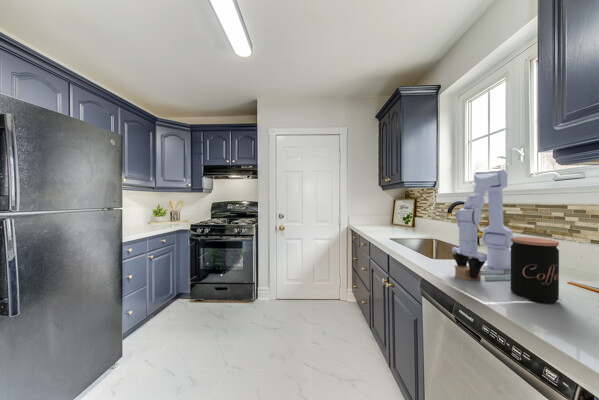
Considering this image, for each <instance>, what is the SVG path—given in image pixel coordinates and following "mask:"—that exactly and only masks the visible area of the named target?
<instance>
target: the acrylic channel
mask: <svg viewBox="0 0 599 400" xmlns="http://www.w3.org/2000/svg"><path fill="white" fill-rule="evenodd" d="M504 270H505V269H483V270H481V280H484V281H511V274H510V275H506V274H505V275H503V274H504V273H505V272H504Z"/></svg>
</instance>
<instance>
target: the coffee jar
mask: <svg viewBox="0 0 599 400" xmlns="http://www.w3.org/2000/svg"><path fill="white" fill-rule="evenodd" d="M511 241H512V242H513V244H512V245H511V269H510V275H511V280H510V291H511V292H512V294H514V295H516V296H518V297H521V298H523V299H526V300H527V301H528V302H532V303H538V304H547V305H553V304H556V302H558V301H559V299H560V298H559V297H560V293H559V292H560V250H559V249H558V248H557V247H558V246H559V244H560V241H558V240H555V239H554V240H553V239H547V238H541V237H539V238H538V237H531V236H530V237H527V236H513V237H512V238H511Z"/></svg>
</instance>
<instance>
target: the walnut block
mask: <svg viewBox="0 0 599 400" xmlns="http://www.w3.org/2000/svg"><path fill="white" fill-rule="evenodd" d="M454 267H455V269H454V270H455V272H454V273H455V277H457V278H459V279H462V280H463V281H464V280H465V281H481V280H482V279H481V269H482V268H481V269H480V271H479V274H478V277H477V278H471V277H470V268H469V264H468V265H465V266H457V265H454Z"/></svg>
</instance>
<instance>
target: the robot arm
mask: <svg viewBox="0 0 599 400" xmlns="http://www.w3.org/2000/svg"><path fill="white" fill-rule="evenodd" d="M473 181H474V184H475V186H474V188H473V192H472V194H469V195H468V196H467V198H466V200H465V202H464V204H463V206H462V208H460V209H458V210H457V211H456V214H455V220H456V224H457V227H458V234H459V235H458V247H454V246H453V247H451V248H452V249H451V252H452V253H454V254H452V258H453V259H454V261H455V263H456V266H465V265H467V264H468V265H469V268H470V277H471V278H477V277H478V274H479V271H480V269H482V267H483V266H486V267H489V268H492V269H494V270H511V245H512V244H513V242H512V241H511V238H512V237H514V235H513V234H514V233H513V231H512V229H510V228H509V227H506V226H505V225H504V203H503V199H504V198H503V192H504V191H503V190H504V189H505V188H507V187H508V173H507V171H506V170H505V169H504V168H500V169H489V170H476V172H475V173H474V175H473ZM486 194H488V195H487V200H488V222H489V224H488V226H487V227H485V228H483V230H482V234H481V241H482V243H483V245H484V246H485V247H486V251H487V252H486V255H484V254H482V253H480V252H478V225H479V224H480V223H481V218H482V209H483V207H484V204H485V202H486V199H485V198H484V196H485V195H486Z"/></svg>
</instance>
